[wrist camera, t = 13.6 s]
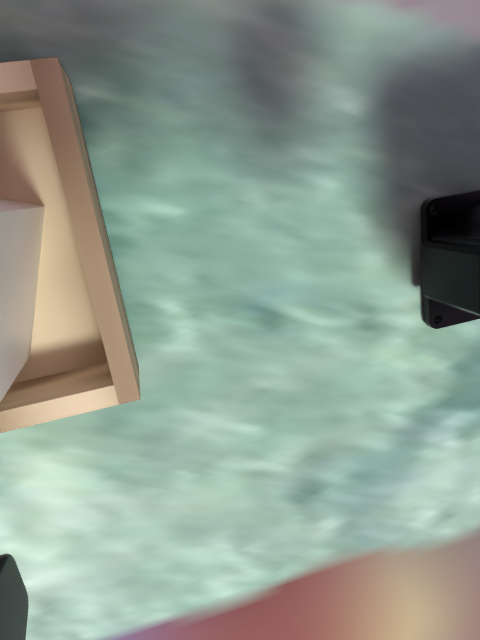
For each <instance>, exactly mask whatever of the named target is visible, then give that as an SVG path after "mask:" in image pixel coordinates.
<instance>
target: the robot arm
mask: <svg viewBox="0 0 480 640" xmlns="http://www.w3.org/2000/svg"><path fill="white" fill-rule="evenodd" d="M432 205H434V206H435V211H434V212H433V213H431V207H432ZM421 228H422V246H421V267H422V293H423V295H424V320H425V323H426V324H427V325H428V326H430V327H432V328H434V329H439V328H443V327H447V326H451V325H455V324H459V323H464V322H468V321H472V320H476V319H480V189H478V190H473V191H467V192H462V193H456V194H451V195H445V196H440V197H434V198H430V199H427V200H426V201H425V202H424V203H423V205H422V207H421ZM436 315H437V320H436V321H434V317H435V316H436ZM27 617H28V595H27V591H26V588H25V585H24V583H23V580H22V578H21V575H20V572H19V570H18V567H17V564H16V562H15V560H14V558H13V557H12V555H10V554H3V555H0V640H25V638H26V627H27Z"/></svg>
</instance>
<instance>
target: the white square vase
mask: <svg viewBox="0 0 480 640" xmlns="http://www.w3.org/2000/svg"><path fill="white" fill-rule="evenodd" d="M44 212H45V206H40V205H34V204H29V203H24V202H18V201H13V200H8V199H2V198H0V402H1V401H2V399H3V398H4V396H5V394H6V393H7V391H8V390H9V388H10V387H11V385H12V383H13V382H14V380H15V379H16V377H17V375H18V374H19V372H20V371H21V369H22V367H23V366H24V364H25V363H26V361H27V360H28V358H29V356H30V350H31V340H32V330H33V320H34V310H35V301H36V291H37V281H38V271H39V261H40V251H41V241H42V232H43V222H44Z"/></svg>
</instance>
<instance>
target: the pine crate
mask: <svg viewBox="0 0 480 640" xmlns="http://www.w3.org/2000/svg"><path fill="white" fill-rule="evenodd" d="M0 198H2V199H8V200H13V201H18V202H24V203H29V204H34V205H40V206H45V212H44V222H43V232H42V241H41V251H40V261H39V271H38V281H37V291H36V301H35V310H34V320H33V330H32V340H31V350H30V356H29V358H28V360H27V361H26V363H25V364H24V366H23V367H22V369H21V371H20V372H19V374H18V375H17V377H16V379H15V380H14V382H13V383H12V385H11V387H10V388H9V390H8V391H7V393H6V394H5V396H4V398H3V399H2V401H1V402H0V433H2V432H7V431H11V430H15V429H19V428H23V427H27V426H32V425H36V424H40V423H44V422H48V421H52V420H56V419H61V418H65V417H69V416H73V415H77V414H81V413H86V412H90V411H94V410H98V409H102V408H106V407H111V406H115V405H119V404H123V403H127V402H131V401H136V400H140V383H139V366H138V361H137V357H136V353H135V349H134V345H133V340H132V336H131V332H130V328H129V324H128V320H127V315H126V311H125V307H124V303H123V299H122V294H121V290H120V286H119V282H118V278H117V273H116V269H115V265H114V261H113V257H112V252H111V248H110V244H109V240H108V236H107V231H106V227H105V223H104V219H103V215H102V210H101V206H100V202H99V198H98V194H97V189H96V185H95V181H94V177H93V173H92V168H91V164H90V160H89V156H88V152H87V147H86V143H85V139H84V135H83V131H82V126H81V122H80V118H79V114H78V110H77V105H76V101H75V97H74V93H73V89H72V85H71V82H70V80H69V79H68V77H67V75H66V73H65V71H64V69H63V67H62V65H61V63H60V61H59V60H58V58H57V57H52V58H43V59H33V60H23V61H13V62H4V63H0Z"/></svg>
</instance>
